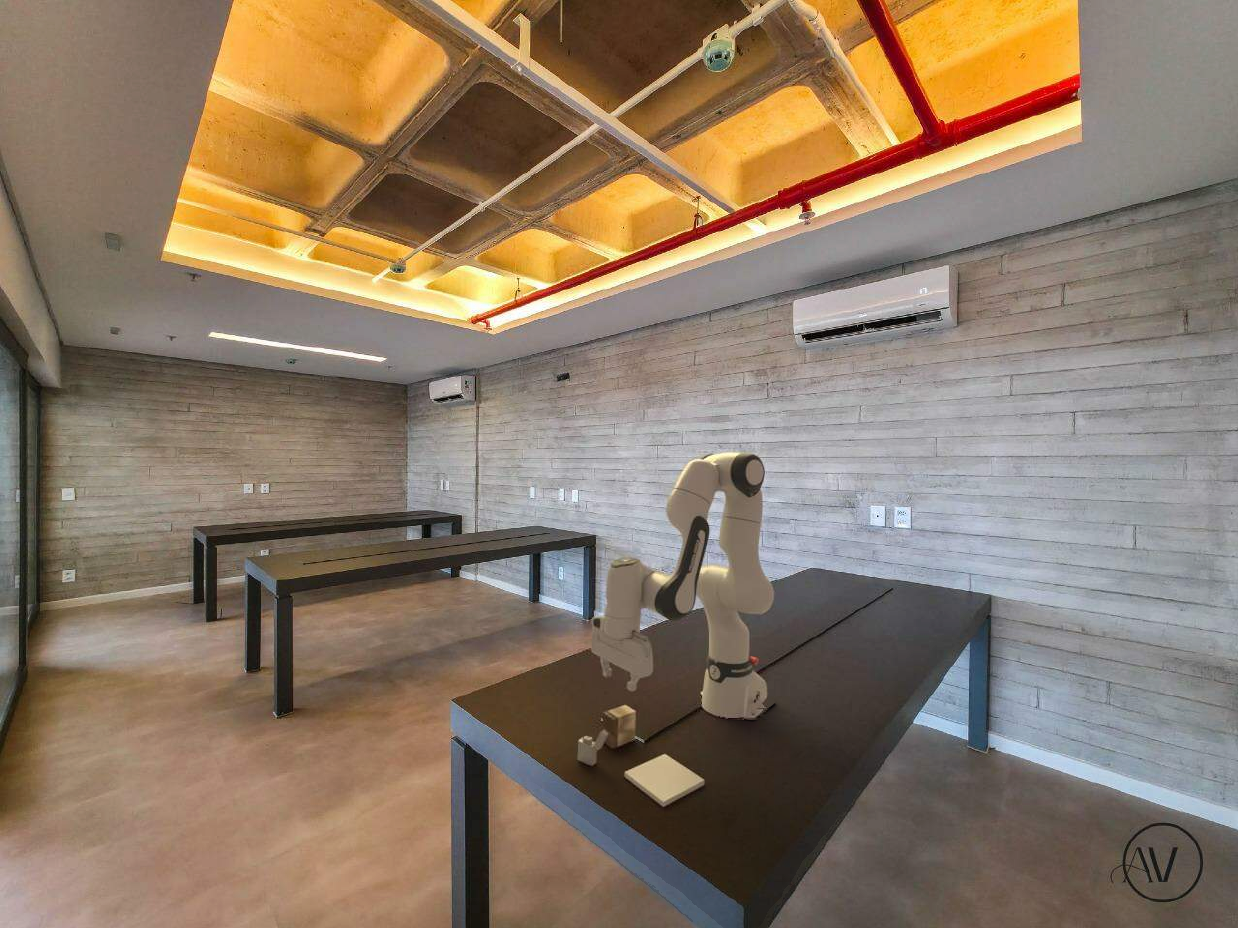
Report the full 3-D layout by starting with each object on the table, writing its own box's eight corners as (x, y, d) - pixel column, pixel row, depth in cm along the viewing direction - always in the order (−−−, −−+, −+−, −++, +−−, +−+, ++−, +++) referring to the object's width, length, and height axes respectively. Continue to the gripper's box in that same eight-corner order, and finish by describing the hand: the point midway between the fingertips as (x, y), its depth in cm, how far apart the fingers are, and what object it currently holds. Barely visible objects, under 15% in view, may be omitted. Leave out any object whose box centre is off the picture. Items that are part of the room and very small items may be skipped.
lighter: (577, 759, 115) (578, 724, 115) (581, 756, 116) (582, 721, 116) (603, 770, 111) (604, 733, 111) (607, 766, 113) (609, 730, 113)
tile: (664, 758, 117) (664, 753, 117) (704, 784, 107) (704, 779, 107) (624, 776, 109) (624, 771, 109) (663, 806, 100) (663, 801, 100)
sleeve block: (624, 732, 127) (625, 704, 127) (634, 739, 124) (636, 711, 124) (601, 741, 123) (602, 712, 123) (612, 749, 120) (613, 719, 120)
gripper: (660, 635, 118) (657, 695, 117) (607, 613, 134) (604, 666, 133) (640, 639, 114) (637, 702, 113) (587, 616, 130) (584, 671, 129)
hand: (618, 682), depth 123 cm, fingers open, 8 cm apart
